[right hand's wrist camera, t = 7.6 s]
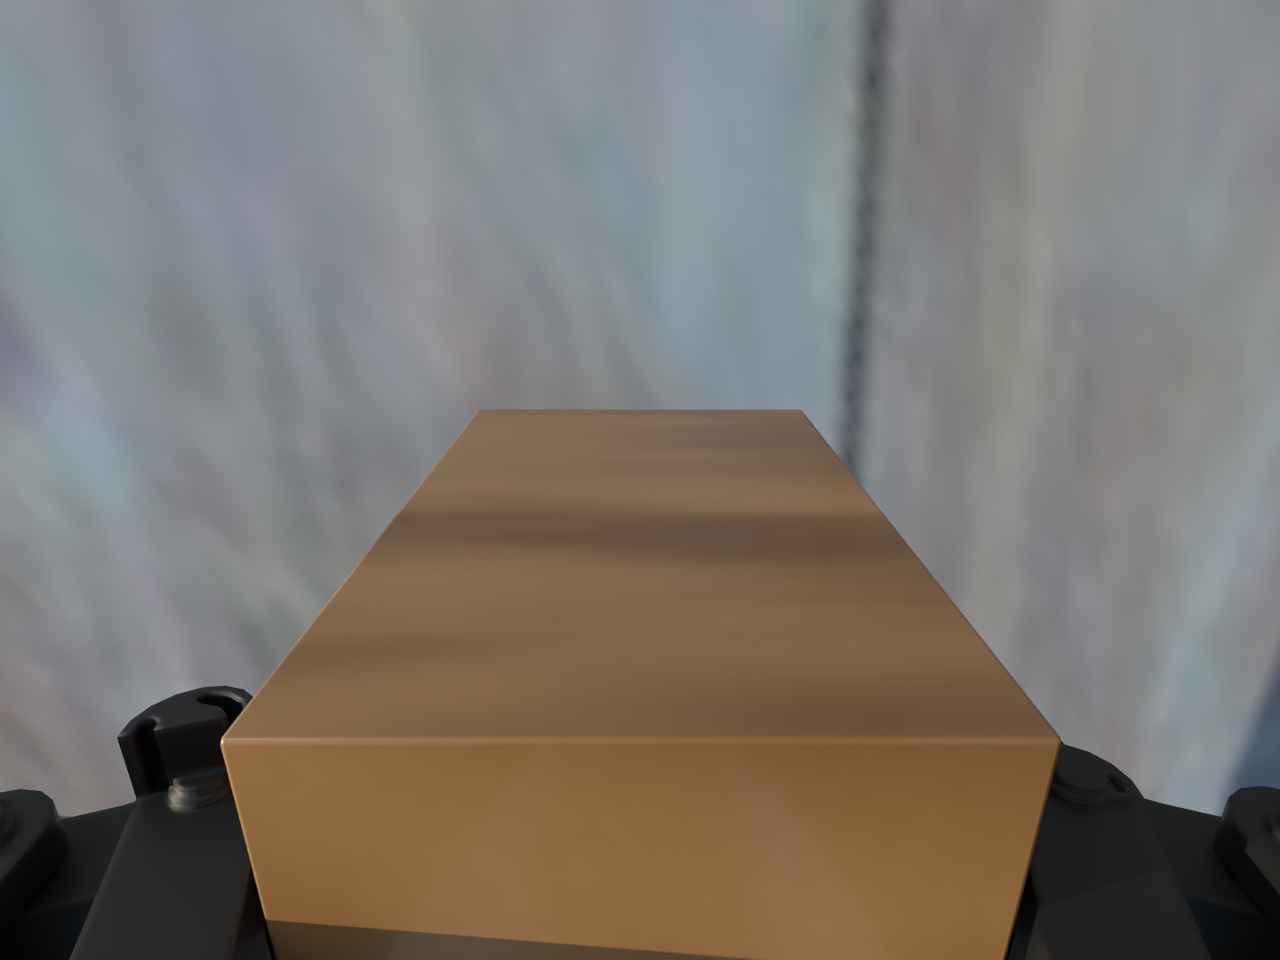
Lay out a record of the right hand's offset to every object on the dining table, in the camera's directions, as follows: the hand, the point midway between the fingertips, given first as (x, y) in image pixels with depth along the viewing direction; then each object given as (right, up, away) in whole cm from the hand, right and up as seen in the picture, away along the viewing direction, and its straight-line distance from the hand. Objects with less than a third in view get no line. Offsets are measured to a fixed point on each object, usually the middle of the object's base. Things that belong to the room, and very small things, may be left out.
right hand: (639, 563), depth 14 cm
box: (0, -6, +3) cm, 7 cm away
